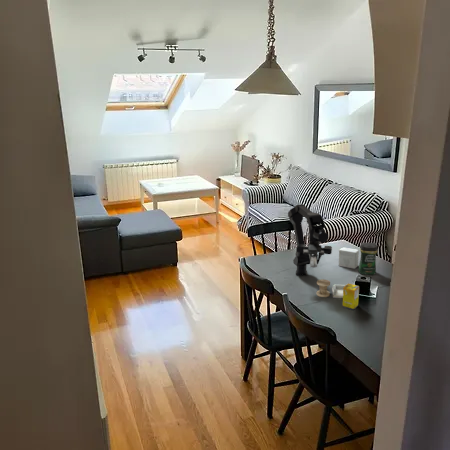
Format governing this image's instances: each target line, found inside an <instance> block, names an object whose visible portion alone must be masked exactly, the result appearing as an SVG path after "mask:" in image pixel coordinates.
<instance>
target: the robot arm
mask: <svg viewBox="0 0 450 450" xmlns="http://www.w3.org/2000/svg"><path fill="white" fill-rule="evenodd" d="M287 217H288V220H289V222H290V223H291V224H292V226H293V231H294V237H295V243H296V248H295V249H296V251H295V257H294V258H293V259H292V261H293V265H294V266H296V271H295V276H304V277H305V276H308V270H307V267H308V265H310V254H315V255H316V254H318V261H317V265H319V263H320V259H321V258H322V256H324V255H332V254H333V253H332V252H333V247H332V246H331V245H324V247H322V245H321V244H320V243H322V244H324V243H326V242H327V241H328V240H329V234H328V233H327V232H326V230H325V228H326V223H325V220H324V219H323V216H322V215H321V214H320V213H318V212H313V211H312V210H311V209H309V208H308V207H306V205H305V204H304V203H303V204H296V205H295V206H294V207H292V208H290V210H288V213H287ZM304 218H305V219H306V223H307V227H308V245H307V246H306V243H305V237H304V232H303V226H302V225H303V224H302V223H303V220H304Z"/></svg>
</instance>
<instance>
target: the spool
mask: <svg viewBox="0 0 450 450" xmlns="http://www.w3.org/2000/svg"><path fill="white" fill-rule="evenodd" d="M316 285H318V286H319V290H317V291H316V295H317V296H318V297H319V298H328V297H330V296H331V292H330V291H328V287H329V286H331V281H330V280H328V279H324V278H321V279H318V280H317V281H316Z"/></svg>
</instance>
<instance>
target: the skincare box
mask: <svg viewBox="0 0 450 450" xmlns="http://www.w3.org/2000/svg"><path fill="white" fill-rule="evenodd" d="M359 254H360V249H355V248H349V247H345V246H344V247H341V248H340V249H339V250H338V267H344V268H350V269H354V270H355V269H356V268H357V267H359V256H360V255H359Z"/></svg>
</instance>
